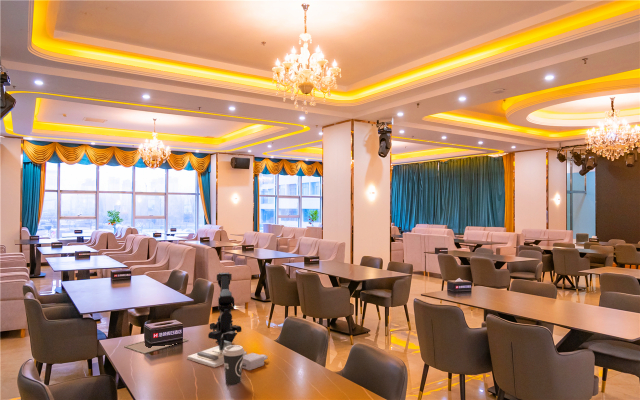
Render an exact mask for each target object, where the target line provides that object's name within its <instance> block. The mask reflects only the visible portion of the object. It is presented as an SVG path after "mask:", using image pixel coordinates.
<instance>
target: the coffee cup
mask: <svg viewBox="0 0 640 400" xmlns="http://www.w3.org/2000/svg"><path fill="white" fill-rule="evenodd" d="M244 351H245V349H244V348H243V346H241V345H240V344H239V345H238V344H231V345H230V346H227V347H225V348H224V350H223V353H222V354H223V355H224V364H223V365H224V377H225V384H226V385H229V386H234V385H238V384H240V383H241V381H242V380H241V379H242V371H243V368H242V361H243V354H244Z"/></svg>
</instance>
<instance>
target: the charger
mask: <svg viewBox="0 0 640 400" xmlns="http://www.w3.org/2000/svg"><path fill="white" fill-rule="evenodd" d="M268 357H269V355H266V354H263V353H262V354H258V353H254V352H251V353H248V354H247V355H245V356H243V361H242V369H244V370H248V371H252V370H255V369H257V368H260V367H263V366H264V365H265V361H266V360H267V359H268Z"/></svg>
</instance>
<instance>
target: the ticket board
mask: <svg viewBox="0 0 640 400" xmlns="http://www.w3.org/2000/svg"><path fill="white" fill-rule="evenodd" d="M216 349H219V345H216V346H214V347H210V348H207V349H204V350H201V351H198V352H196V353H192V354H189V355H187V360H188V361H193V362H196V363H199V364H201V365H205V366H208V367H211V368H217V367H219V366H222V365H224V355H223V354H222V353H218V352H214V351H213V350H216ZM245 355H248V354H247V351H245V350H244V354H243V356H245Z"/></svg>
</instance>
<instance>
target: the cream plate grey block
mask: <svg viewBox="0 0 640 400" xmlns="http://www.w3.org/2000/svg"><path fill="white" fill-rule="evenodd" d="M230 345H232V344H231V342H229V341H225V340H224V344H223V349H222V350H220V347H219V349H216V350H213V351H214V352H218V353H223V350H224V348H225V347H227V346H230Z"/></svg>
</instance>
